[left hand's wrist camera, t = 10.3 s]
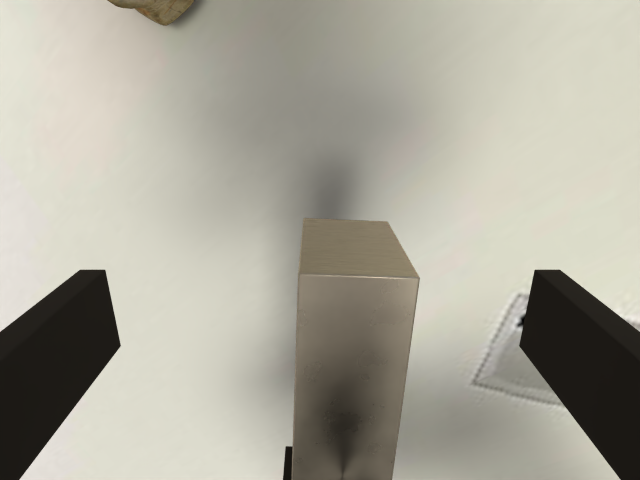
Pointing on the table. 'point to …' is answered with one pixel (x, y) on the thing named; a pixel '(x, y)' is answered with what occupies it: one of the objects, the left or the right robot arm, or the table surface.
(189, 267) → the table surface
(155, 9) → the sculpture
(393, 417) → the bar
